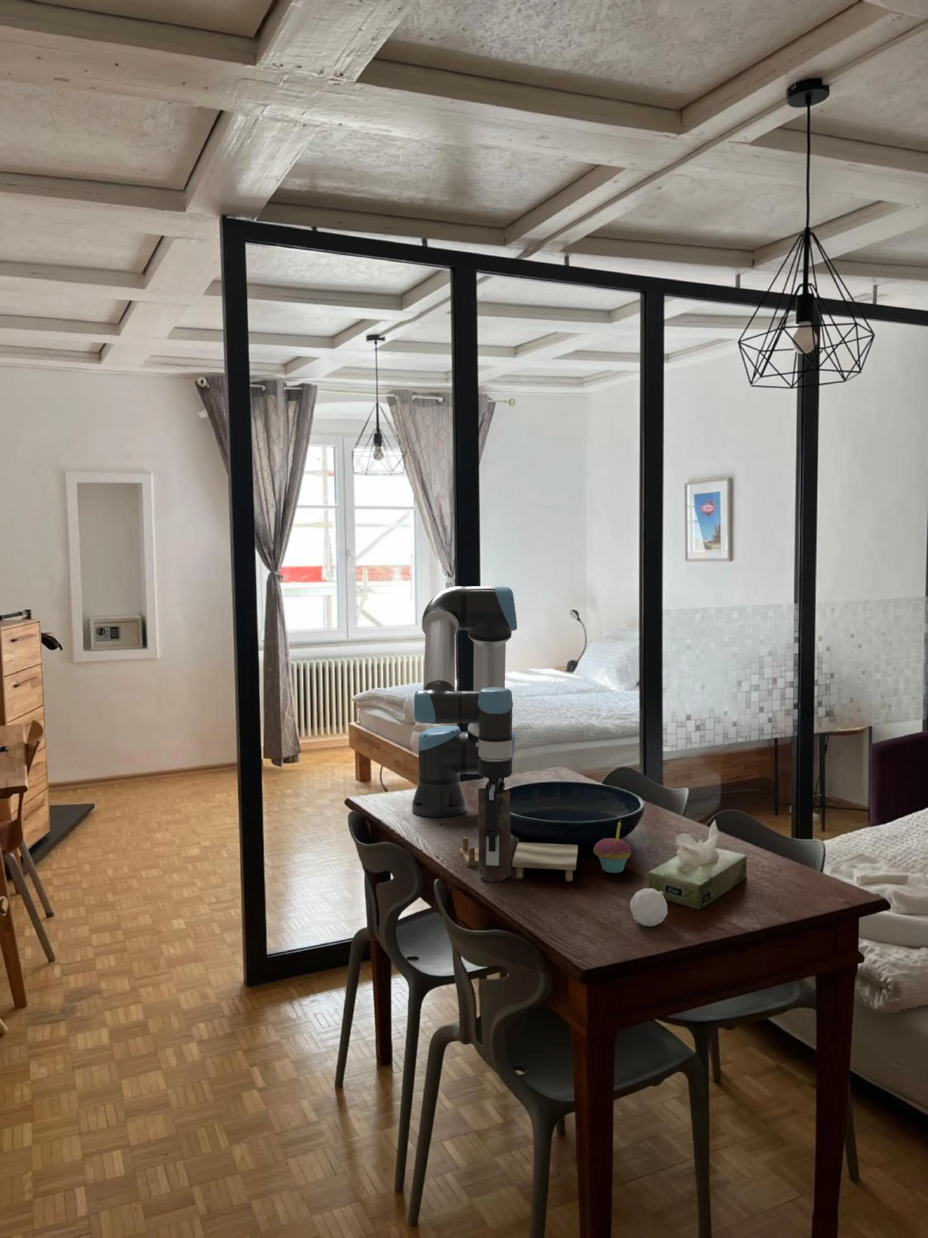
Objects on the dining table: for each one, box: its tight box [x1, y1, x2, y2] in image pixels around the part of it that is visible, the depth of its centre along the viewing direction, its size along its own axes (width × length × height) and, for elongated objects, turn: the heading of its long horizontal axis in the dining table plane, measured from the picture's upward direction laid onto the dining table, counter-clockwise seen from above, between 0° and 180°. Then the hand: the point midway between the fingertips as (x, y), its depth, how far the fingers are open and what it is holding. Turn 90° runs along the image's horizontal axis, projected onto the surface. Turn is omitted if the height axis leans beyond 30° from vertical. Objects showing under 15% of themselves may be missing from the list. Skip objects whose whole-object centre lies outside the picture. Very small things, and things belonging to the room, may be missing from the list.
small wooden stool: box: [511, 841, 579, 882], centre depth 216 cm, size 14×14×4 cm
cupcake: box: [593, 819, 633, 874], centre depth 216 cm, size 9×8×12 cm
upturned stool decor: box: [459, 836, 479, 868], centre depth 224 cm, size 10×10×4 cm
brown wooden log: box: [477, 787, 513, 883], centre depth 211 cm, size 8×7×20 cm
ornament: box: [629, 887, 668, 927], centre depth 184 cm, size 7×7×8 cm
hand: (494, 858), depth 211 cm, fingers open, 8 cm apart
